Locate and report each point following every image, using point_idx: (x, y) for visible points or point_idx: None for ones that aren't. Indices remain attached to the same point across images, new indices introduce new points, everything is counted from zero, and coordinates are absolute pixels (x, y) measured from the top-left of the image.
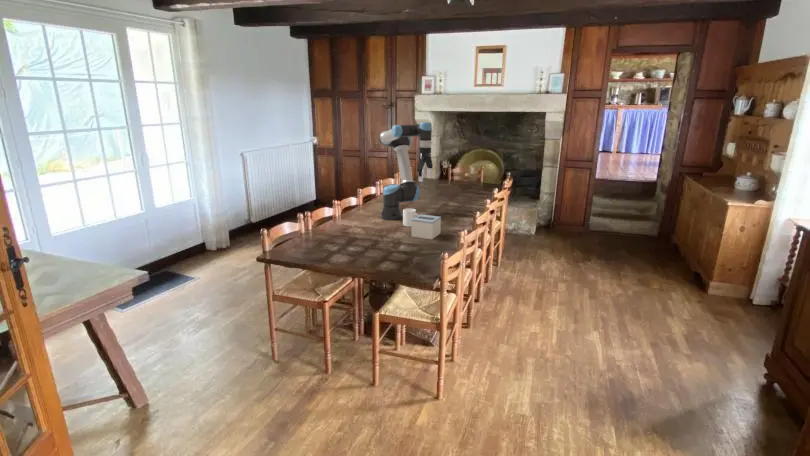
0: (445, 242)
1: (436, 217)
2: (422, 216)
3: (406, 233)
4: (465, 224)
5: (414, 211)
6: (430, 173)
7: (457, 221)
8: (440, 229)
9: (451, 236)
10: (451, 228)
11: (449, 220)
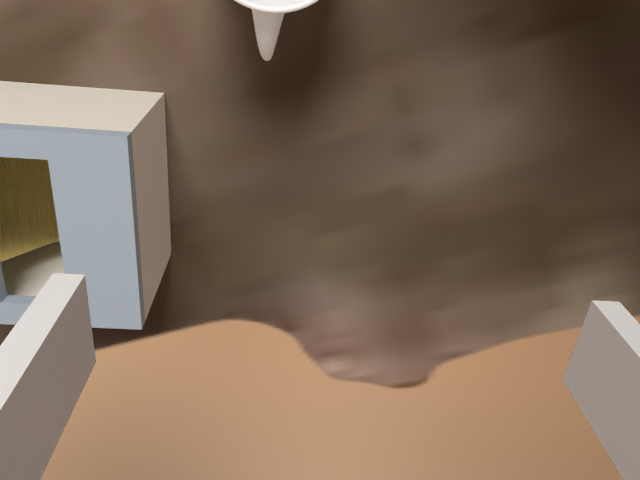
0: (3, 331)
1: (96, 306)
2: (54, 184)
3: (21, 4)
4: (450, 340)
5: (253, 8)
6: (622, 473)
7: (516, 278)
8: (165, 268)
9: (141, 330)
10: (320, 286)
11: (532, 220)
